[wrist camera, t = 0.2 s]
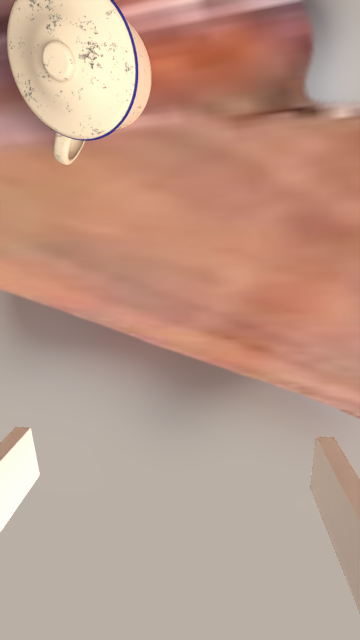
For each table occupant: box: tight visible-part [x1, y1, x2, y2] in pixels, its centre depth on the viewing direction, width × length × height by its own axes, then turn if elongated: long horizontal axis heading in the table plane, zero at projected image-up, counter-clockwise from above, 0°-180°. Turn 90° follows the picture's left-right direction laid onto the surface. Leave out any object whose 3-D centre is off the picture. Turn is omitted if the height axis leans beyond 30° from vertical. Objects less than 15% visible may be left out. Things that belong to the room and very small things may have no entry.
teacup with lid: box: [7, 0, 151, 165], centre depth 25 cm, size 12×9×12 cm
